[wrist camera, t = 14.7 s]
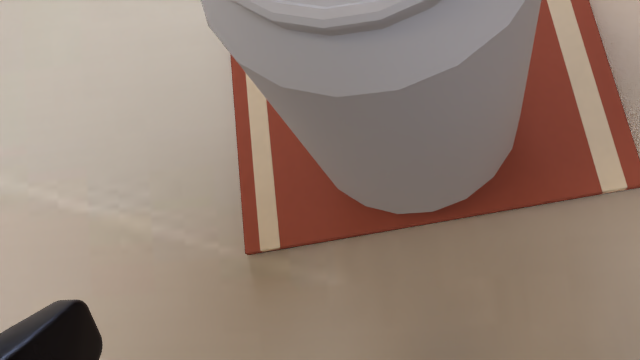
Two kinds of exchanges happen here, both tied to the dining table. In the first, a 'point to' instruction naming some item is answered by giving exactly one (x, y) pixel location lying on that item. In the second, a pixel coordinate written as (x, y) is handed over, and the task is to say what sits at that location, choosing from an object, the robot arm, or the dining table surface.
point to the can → (390, 88)
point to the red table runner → (495, 196)
